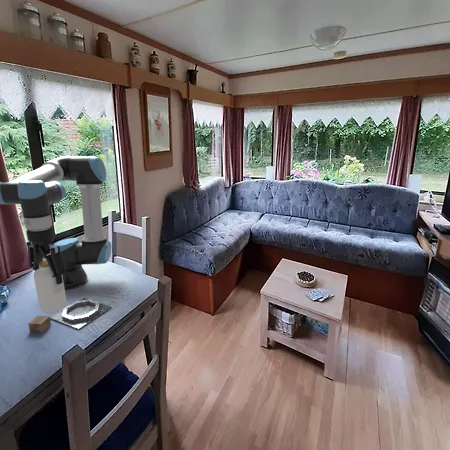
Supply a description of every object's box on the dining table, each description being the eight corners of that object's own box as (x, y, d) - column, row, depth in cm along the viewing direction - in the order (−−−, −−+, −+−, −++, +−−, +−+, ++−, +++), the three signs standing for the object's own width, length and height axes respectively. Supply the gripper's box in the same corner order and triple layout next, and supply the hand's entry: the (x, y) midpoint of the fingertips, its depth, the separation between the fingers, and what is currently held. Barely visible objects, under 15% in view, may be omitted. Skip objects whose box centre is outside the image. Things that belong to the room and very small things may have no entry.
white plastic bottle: (48, 301, 103) (39, 257, 98) (71, 300, 104) (64, 257, 99) (35, 314, 96) (25, 268, 90) (60, 314, 96) (52, 267, 91)
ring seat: (49, 318, 114) (48, 314, 114) (84, 298, 129) (83, 294, 129) (78, 330, 108) (78, 325, 107) (111, 307, 123) (111, 303, 122)
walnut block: (30, 332, 106) (28, 323, 105) (38, 324, 111) (37, 315, 110) (42, 332, 106) (40, 324, 105) (51, 324, 111) (49, 316, 110)
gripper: (7, 226, 92) (20, 286, 98) (50, 236, 84) (61, 301, 90) (30, 220, 98) (41, 277, 105) (71, 229, 90) (81, 290, 97)
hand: (50, 288), depth 98 cm, fingers closed on white plastic bottle, 8 cm apart
